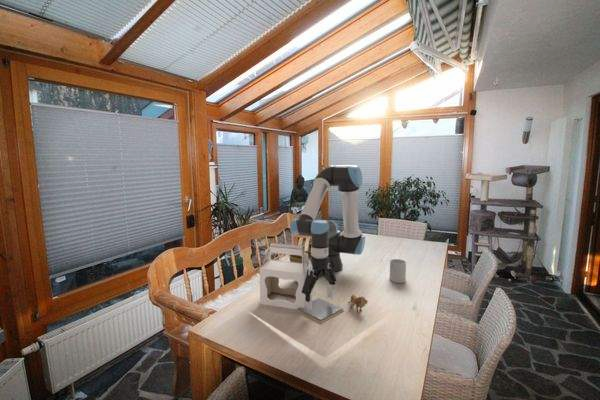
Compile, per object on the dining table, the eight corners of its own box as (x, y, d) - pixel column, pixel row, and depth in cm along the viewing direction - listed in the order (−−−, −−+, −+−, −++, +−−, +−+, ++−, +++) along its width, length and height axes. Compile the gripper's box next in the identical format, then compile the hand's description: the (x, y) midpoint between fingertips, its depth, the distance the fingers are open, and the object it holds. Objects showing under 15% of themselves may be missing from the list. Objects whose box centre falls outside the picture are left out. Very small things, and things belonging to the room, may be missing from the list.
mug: (402, 284, 156) (403, 264, 155) (387, 281, 161) (387, 261, 160) (409, 277, 165) (409, 259, 164) (394, 274, 170) (395, 256, 169)
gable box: (259, 304, 135) (258, 246, 132) (271, 293, 147) (270, 239, 144) (304, 311, 128) (304, 250, 125) (313, 299, 140) (313, 242, 137)
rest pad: (295, 310, 128) (295, 308, 128) (318, 300, 138) (318, 297, 138) (321, 323, 117) (321, 320, 117) (343, 310, 127) (343, 308, 127)
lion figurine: (369, 313, 125) (369, 297, 124) (361, 315, 123) (361, 299, 122) (351, 302, 135) (351, 287, 135) (344, 304, 133) (344, 289, 133)
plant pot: (284, 283, 159) (283, 255, 157) (302, 275, 170) (302, 249, 168) (304, 290, 149) (303, 260, 147) (321, 282, 160) (321, 254, 158)
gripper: (305, 264, 114) (306, 315, 116) (344, 251, 131) (344, 296, 133) (292, 260, 119) (293, 309, 121) (331, 248, 136) (331, 291, 139)
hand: (319, 302), depth 127 cm, fingers open, 13 cm apart
